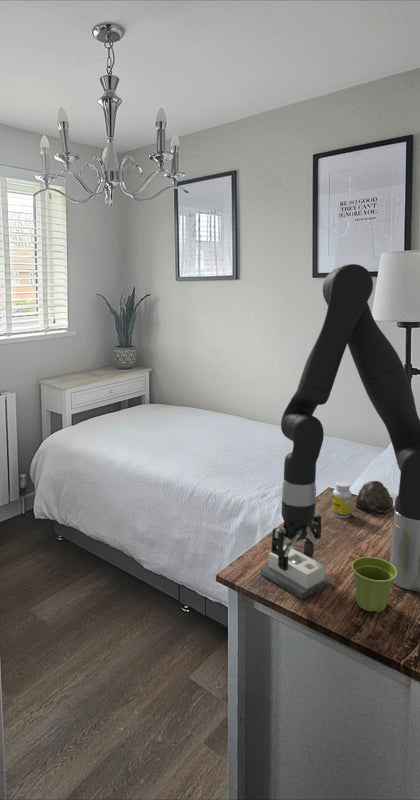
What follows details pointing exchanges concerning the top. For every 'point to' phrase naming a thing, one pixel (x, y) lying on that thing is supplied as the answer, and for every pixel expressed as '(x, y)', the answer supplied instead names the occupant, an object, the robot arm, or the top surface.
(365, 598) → the plant pot
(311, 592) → the base plate
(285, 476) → the robot arm
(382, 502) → the fossil
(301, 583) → the white block with recesses
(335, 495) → the supplement bottle
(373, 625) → the top surface
